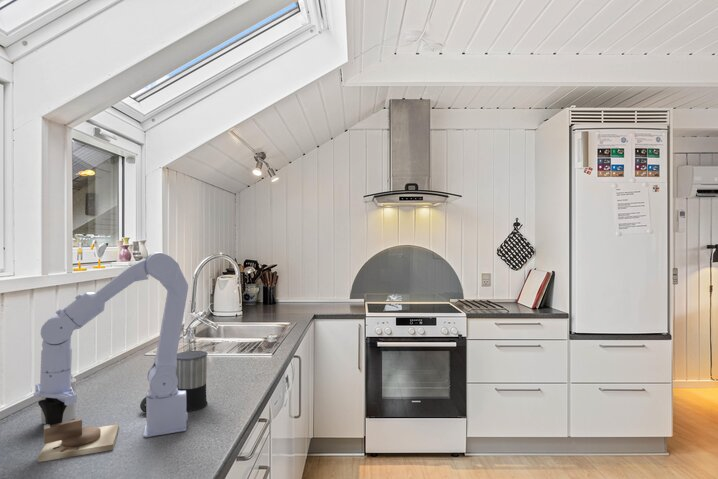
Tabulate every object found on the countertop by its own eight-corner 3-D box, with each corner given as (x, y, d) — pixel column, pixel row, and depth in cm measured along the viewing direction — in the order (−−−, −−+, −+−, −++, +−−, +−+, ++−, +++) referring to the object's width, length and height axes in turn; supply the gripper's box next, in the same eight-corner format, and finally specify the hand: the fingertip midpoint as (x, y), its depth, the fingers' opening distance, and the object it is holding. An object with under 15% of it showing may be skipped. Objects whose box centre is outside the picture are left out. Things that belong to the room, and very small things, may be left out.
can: (82, 415, 118) (82, 371, 118) (64, 427, 110) (64, 380, 110) (53, 416, 117) (53, 371, 118) (34, 428, 110) (34, 380, 110)
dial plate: (119, 428, 109) (119, 423, 109) (113, 449, 98) (113, 443, 98) (52, 439, 104) (52, 433, 104) (37, 462, 93) (37, 455, 93)
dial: (96, 429, 106) (96, 408, 106) (103, 439, 100) (103, 418, 100) (42, 442, 99) (42, 421, 99) (46, 454, 93) (46, 431, 93)
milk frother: (214, 404, 126) (214, 352, 126) (166, 423, 112) (166, 365, 113) (182, 395, 133) (182, 346, 133) (133, 412, 120) (133, 358, 120)
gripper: (20, 368, 99) (18, 428, 98) (51, 379, 91) (49, 445, 91) (55, 361, 105) (53, 418, 105) (87, 371, 97) (85, 433, 97)
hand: (53, 430), depth 98 cm, fingers closed, pressing on dial
